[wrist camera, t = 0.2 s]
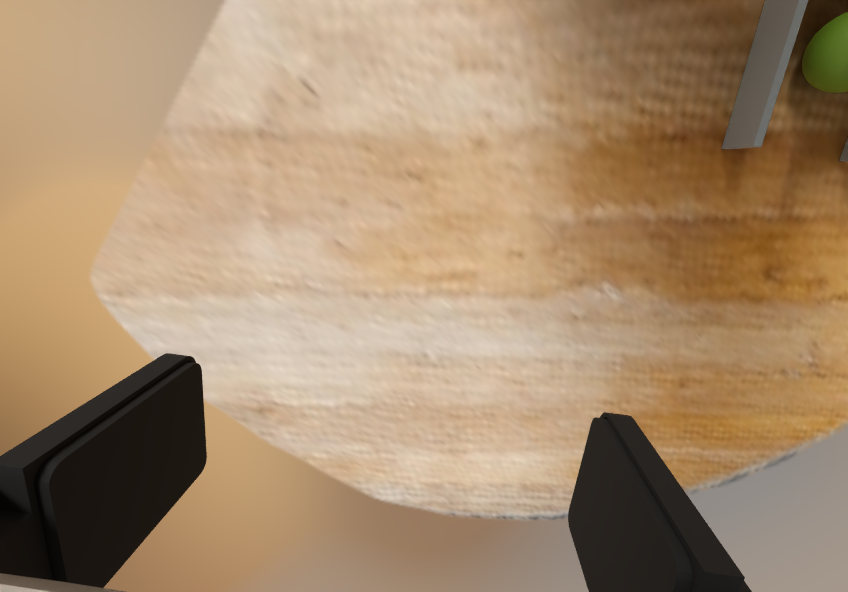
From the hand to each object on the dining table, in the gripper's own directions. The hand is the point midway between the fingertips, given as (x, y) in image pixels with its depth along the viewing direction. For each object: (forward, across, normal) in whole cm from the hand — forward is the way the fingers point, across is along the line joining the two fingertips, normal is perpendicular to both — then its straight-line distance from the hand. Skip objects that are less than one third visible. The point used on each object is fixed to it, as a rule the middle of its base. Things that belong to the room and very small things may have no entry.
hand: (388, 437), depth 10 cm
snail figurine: (+31, -28, -17) cm, 45 cm away
